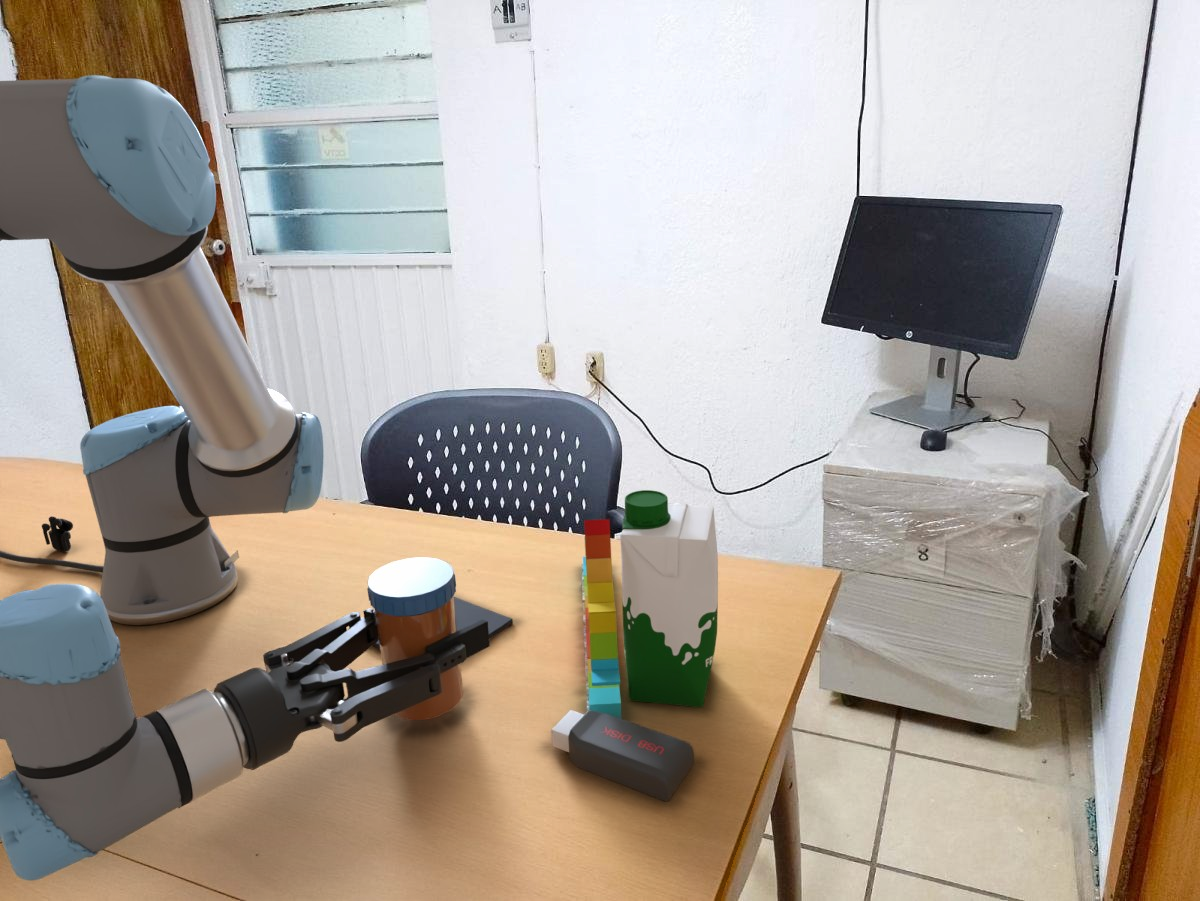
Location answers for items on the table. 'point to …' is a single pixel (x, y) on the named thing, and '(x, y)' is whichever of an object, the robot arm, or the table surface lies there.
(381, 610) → the lid
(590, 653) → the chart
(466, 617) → the mat
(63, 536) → the wireless earbuds
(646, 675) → the milk carton
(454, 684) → the jar
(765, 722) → the table surface
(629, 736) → the usb drive
